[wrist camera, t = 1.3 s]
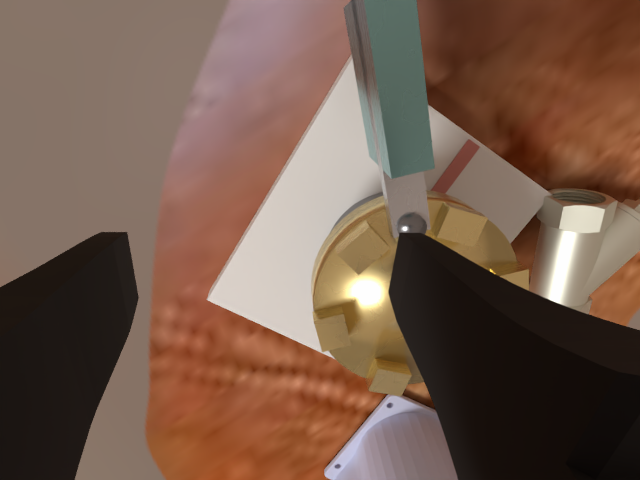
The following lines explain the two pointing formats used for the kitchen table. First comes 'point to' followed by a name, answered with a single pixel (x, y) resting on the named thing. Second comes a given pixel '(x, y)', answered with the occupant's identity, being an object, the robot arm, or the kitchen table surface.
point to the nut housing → (350, 207)
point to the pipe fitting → (582, 244)
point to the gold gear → (392, 205)
